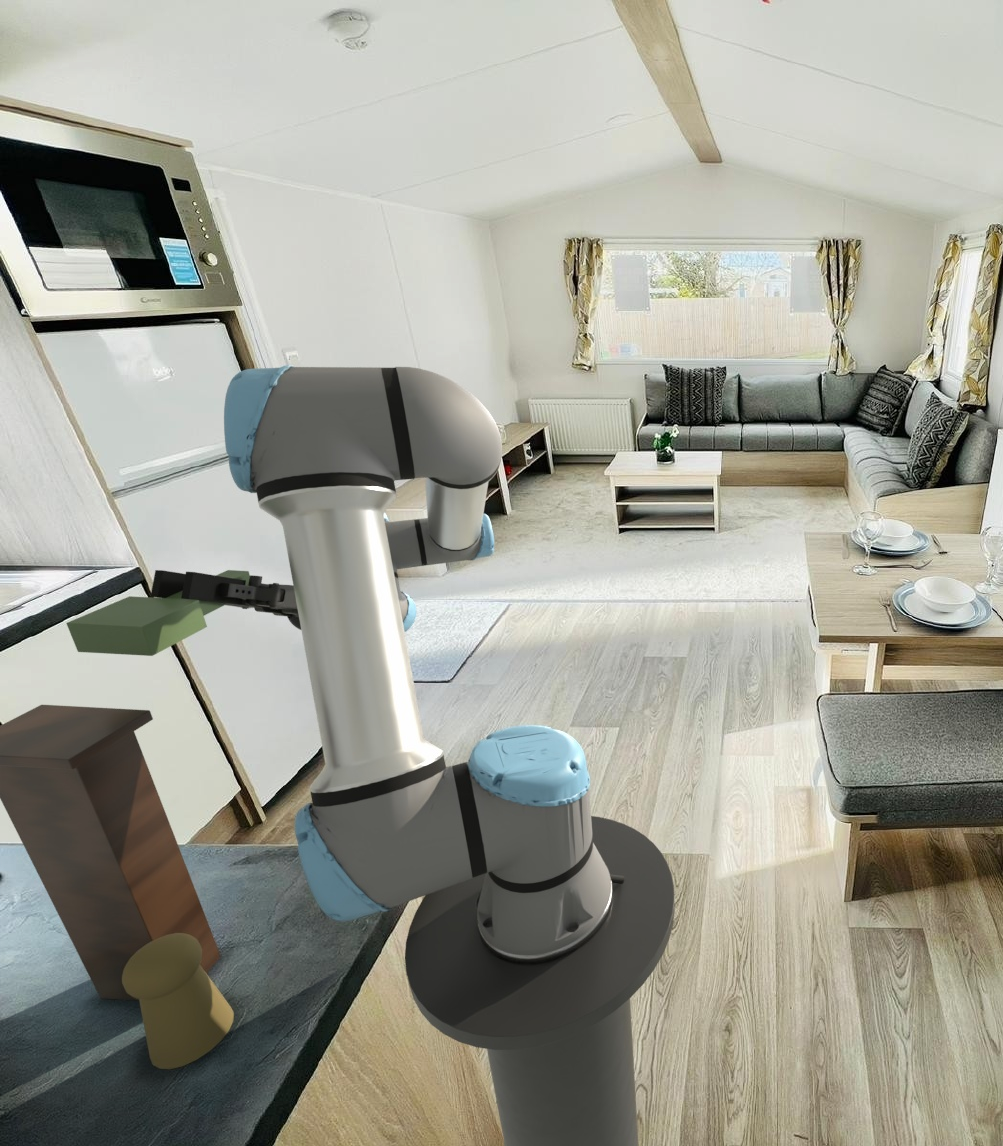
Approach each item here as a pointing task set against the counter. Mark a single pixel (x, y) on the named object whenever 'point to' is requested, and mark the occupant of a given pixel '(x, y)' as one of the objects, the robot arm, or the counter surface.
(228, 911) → the counter surface
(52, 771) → the shelf stand
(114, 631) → the paddle
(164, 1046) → the cork
